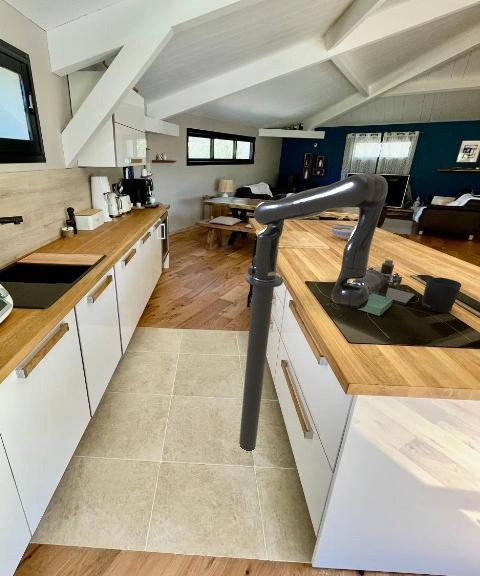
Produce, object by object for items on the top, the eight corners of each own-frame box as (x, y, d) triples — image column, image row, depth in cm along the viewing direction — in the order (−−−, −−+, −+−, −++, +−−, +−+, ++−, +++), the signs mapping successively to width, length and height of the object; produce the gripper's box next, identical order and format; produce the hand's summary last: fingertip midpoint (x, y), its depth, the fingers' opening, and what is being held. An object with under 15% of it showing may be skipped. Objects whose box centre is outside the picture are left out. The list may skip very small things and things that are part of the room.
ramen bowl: (320, 238, 212) (322, 226, 209) (335, 233, 226) (337, 222, 223) (358, 245, 195) (361, 232, 192) (372, 239, 210) (375, 227, 206)
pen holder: (416, 300, 117) (424, 275, 113) (447, 304, 114) (456, 279, 110) (423, 310, 109) (431, 284, 105) (456, 315, 106) (466, 288, 102)
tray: (334, 302, 115) (336, 295, 114) (348, 293, 123) (349, 287, 122) (379, 316, 105) (381, 309, 104) (391, 305, 113) (392, 299, 112)
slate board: (348, 289, 126) (349, 287, 126) (359, 282, 134) (360, 280, 134) (405, 305, 113) (405, 302, 113) (413, 296, 121) (414, 294, 120)
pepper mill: (374, 290, 123) (381, 260, 118) (377, 288, 126) (385, 258, 121) (385, 293, 120) (393, 262, 116) (388, 291, 123) (396, 260, 118)
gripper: (394, 278, 102) (408, 267, 113) (349, 268, 112) (366, 259, 122) (388, 299, 105) (402, 287, 116) (345, 287, 115) (362, 277, 125)
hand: (384, 272), depth 119 cm, fingers open, 8 cm apart
